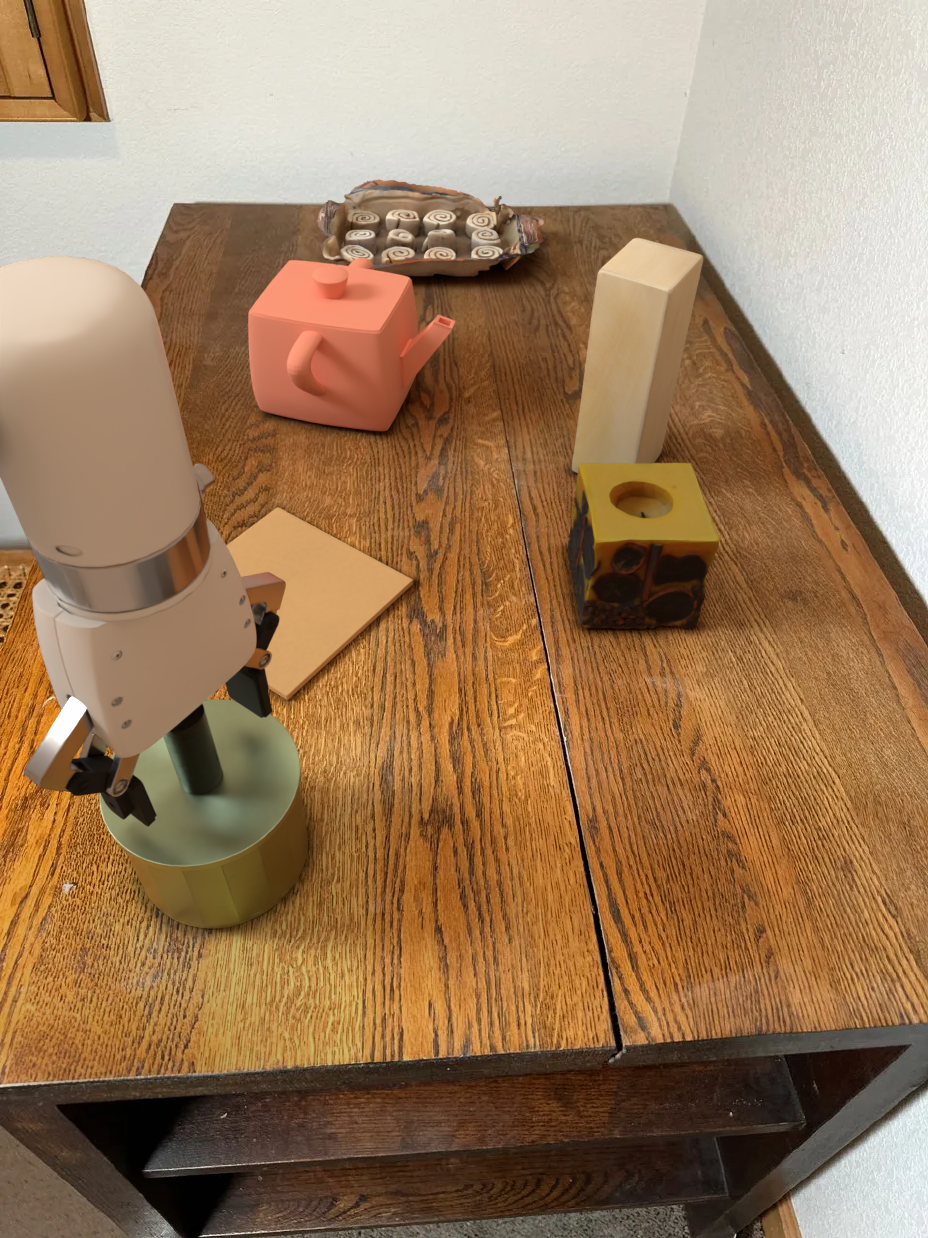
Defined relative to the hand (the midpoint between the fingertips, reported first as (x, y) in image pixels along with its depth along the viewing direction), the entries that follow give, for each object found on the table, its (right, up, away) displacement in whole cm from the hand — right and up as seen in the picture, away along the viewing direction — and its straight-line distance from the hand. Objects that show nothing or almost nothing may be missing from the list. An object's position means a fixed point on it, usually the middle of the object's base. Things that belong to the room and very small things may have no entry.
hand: (195, 754), depth 55 cm
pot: (0, -8, +8) cm, 11 cm away
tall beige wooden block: (+31, +24, +39) cm, 55 cm away
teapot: (+5, +32, +45) cm, 55 cm away
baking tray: (+12, +57, +68) cm, 90 cm away
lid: (0, -2, +2) cm, 3 cm away
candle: (+30, +11, +27) cm, 42 cm away
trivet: (0, +10, +25) cm, 27 cm away
